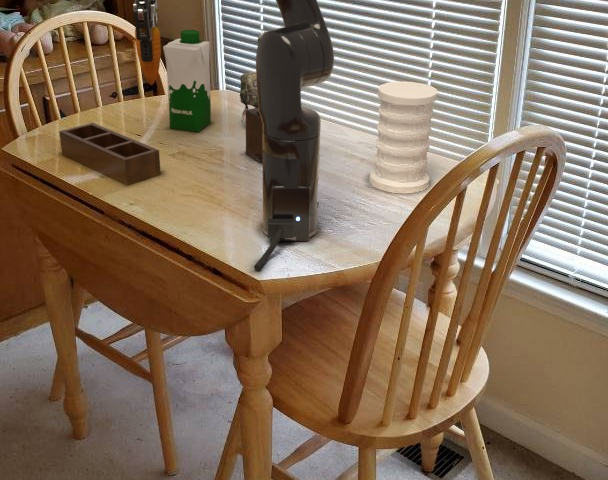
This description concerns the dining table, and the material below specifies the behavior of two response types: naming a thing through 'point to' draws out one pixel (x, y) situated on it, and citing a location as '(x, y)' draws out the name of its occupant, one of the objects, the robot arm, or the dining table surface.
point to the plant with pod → (249, 88)
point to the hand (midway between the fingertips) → (149, 57)
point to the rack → (110, 153)
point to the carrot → (152, 67)
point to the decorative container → (403, 137)
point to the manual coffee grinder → (254, 134)
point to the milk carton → (188, 82)
